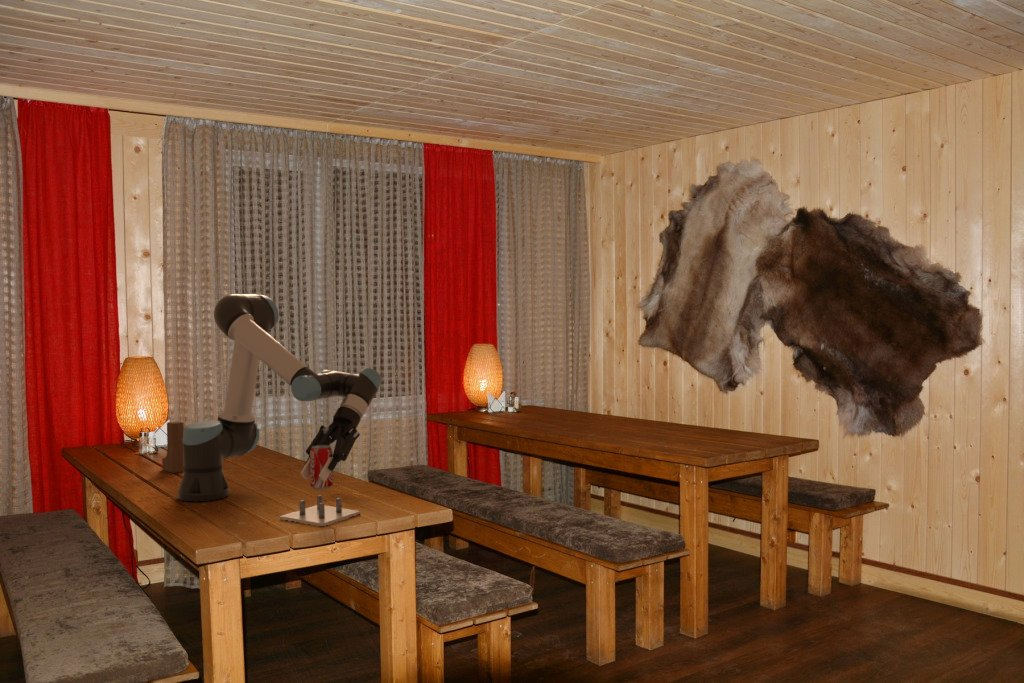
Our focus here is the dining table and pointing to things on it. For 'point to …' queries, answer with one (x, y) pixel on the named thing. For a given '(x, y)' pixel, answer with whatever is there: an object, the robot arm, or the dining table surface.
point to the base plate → (313, 516)
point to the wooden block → (174, 448)
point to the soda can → (320, 466)
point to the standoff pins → (321, 506)
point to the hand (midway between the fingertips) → (312, 477)
